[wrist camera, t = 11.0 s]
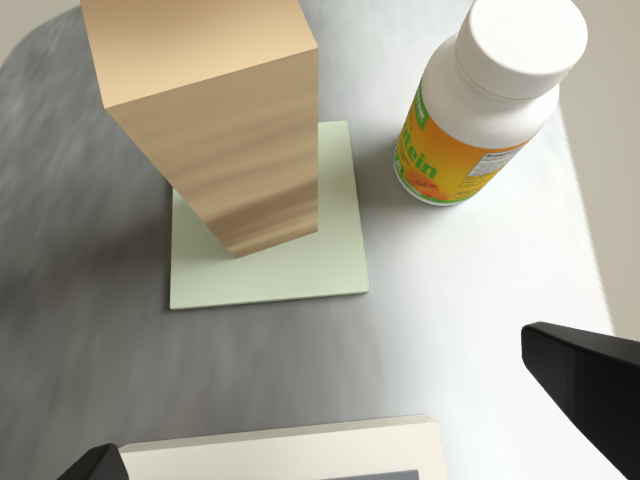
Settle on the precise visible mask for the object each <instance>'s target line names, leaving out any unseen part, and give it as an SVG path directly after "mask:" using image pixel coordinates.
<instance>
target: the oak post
mask: <svg viewBox="0 0 640 480" xmlns="http://www.w3.org/2000/svg"><path fill="white" fill-rule="evenodd" d="M80 2H81V6H82V11H83V15H84V20H85V24H86V29H87V33H88V38H89V42H90V46H91V51H92V55H93V60H94V64H95V69H96V73H97V78H98V82H99V87H100V91H101V96H102V100H103V104H104V109H105V110H106V111H107V112H108V113H109V114H110V115H111V117H112V118H113V119H114V120H115V121H116V122H117V123H118V125H119V126H120V127H121V128H122V129H123V130H124V131H125V133H126V134H127V135H128V136H129V137H130V138H131V139H132V141H133V142H134V143H135V144H136V145H137V146H138V147H139V149H140V150H141V151H142V152H143V153H144V154H145V155H146V157H147V158H148V159H149V160H150V161H151V162H152V164H153V165H154V166H155V167H156V168H157V169H158V170H159V172H160V173H161V174H162V175H163V176H164V177H165V178H166V180H167V181H168V182H169V183H170V184H171V185H172V186H173V188H174V189H175V190H176V191H177V192H178V193H179V194H180V196H181V197H182V198H183V199H184V200H185V201H186V202H187V204H188V205H189V206H190V207H191V208H192V209H193V210H194V212H195V213H196V214H197V215H198V216H199V217H200V218H201V220H202V221H203V222H204V223H205V224H206V225H207V227H208V228H209V229H210V230H211V231H212V232H213V233H214V235H215V236H216V237H217V238H218V239H219V240H220V241H221V243H222V244H223V245H224V246H225V247H226V248H227V249H228V251H229V252H230V253H231V254H232V255H233V256H234V257H235V259H238V258H241V257H244V256H247V255H250V254H253V253H256V252H259V251H262V250H265V249H268V248H271V247H274V246H277V245H280V244H283V243H286V242H289V241H291V240H294V239H297V238H300V237H303V236H306V235H309V234H312V233H315V232H318V46H317V44H316V42H315V39H314V37H313V35H312V32H311V30H310V28H309V26H308V23H307V21H306V19H305V16H304V14H303V12H302V10H301V7H300V5H299V3H298V0H80Z"/></svg>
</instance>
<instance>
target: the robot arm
mask: <svg viewBox="0 0 640 480" xmlns="http://www.w3.org/2000/svg"><path fill="white" fill-rule="evenodd" d="M521 346H522V359H523V362H524V364H525V366H526V368H527V369H528V370H529V372H530V373H531V374H532V375H533V376H534V378H535V379H536V380H537V381H538V382H539V384H540V385H541V386H542V387H543V388H544V390H545V391H546V392H547V393H548V394H549V396H550V397H551V398H552V399H553V401H554V402H555V403H556V404H557V405H558V407H559V408H560V409H561V410H562V411H563V413H564V414H565V415H566V416H567V417H568V418H569V420H570V421H571V422H572V423H573V424H574V425H575V426H576V427H577V428H578V430H579V431H580V432H581V433H582V434H583V435H584V436H585V437H586V438H587V439H588V440H589V441H590V442H591V443H592V444H593V445H594V446H595V447H596V448H597V449H598V450H599V451H600V452H601V453H602V454H603V455H604V456H605V457H606V458H607V459H608V460H609V461H610V462H611V463H612V464H613V465H614V466H615V467H616V468H617V469H618V470H619V471H620V472H621V473H622V474H623V475H624V476H625V478H626V479H627V480H640V342H638V341H633V340H628V339H623V338H619V337H614V336H609V335H604V334H599V333H594V332H589V331H585V330H580V329H575V328H570V327H565V326H560V325H555V324H551V323H546V322H535V323H531V324H528V325H525V326H524V327H522V330H521ZM57 480H129V475H128V472H127V469H126V467H125V465H124V462H123V460H122V457H121V455H120V453H119V450H118V448H117V446H116V445H115V444H113V443H108V444H105V445H101V446H98V447H94V448H92V449H90V450H89V451H87V452H86V453H85V454H84V455H83V456H82V457H81V458H80V459H79V460H78V461H77V462H75V463H74V464H73V465H72V466H71V467H70V468H69V469H68V470H67V471H66V472H65V473H63V474H62V475H61V476H60V477H59V478H58V479H57Z"/></svg>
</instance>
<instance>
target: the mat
mask: <svg viewBox="0 0 640 480" xmlns="http://www.w3.org/2000/svg"><path fill="white" fill-rule="evenodd" d="M368 292H369V284H368V276H367V269H366V261H365V253H364V245H363V237H362V230H361V222H360V214H359V206H358V198H357V191H356V183H355V175H354V167H353V159H352V152H351V144H350V136H349V128H348V120H347V121H334V122H321V123H318V232H315V233H312V234H309V235H306V236H303V237H300V238H297V239H294V240H291V241H289V242H286V243H283V244H280V245H277V246H274V247H271V248H268V249H265V250H262V251H259V252H256V253H253V254H250V255H247V256H244V257H241V258H238V259H235V257H234V256H233V255H232V254H231V253H230V252H229V251H228V249H227V248H226V247H225V246H224V245H223V244H222V243H221V241H220V240H219V239H218V238H217V237H216V236H215V235H214V233H213V232H212V231H211V230H210V229H209V228H208V227H207V225H206V224H205V223H204V222H203V221H202V220H201V218H200V217H199V216H198V215H197V214H196V213H195V212H194V210H193V209H192V208H191V207H190V206H189V205H188V204H187V202H186V201H185V200H184V199H183V198H182V197H181V196H180V194H179V193H178V192H177V191H176V190H175V189H174V188H173V210H172V250H171V290H170V309H173V310H180V309H192V308H203V307H214V306H225V305H237V304H248V303H259V302H270V301H281V300H293V299H304V298H315V297H326V296H337V295H349V294H360V293H368Z"/></svg>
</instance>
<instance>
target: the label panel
mask: <svg viewBox="0 0 640 480" xmlns="http://www.w3.org/2000/svg"><path fill="white" fill-rule="evenodd" d="M118 450H119V453H120V455H121V457H122V460H123V462H124V465H125V467H126V469H127V472H128V475H129V480H448V478H447V472H446V466H445V460H444V454H443V448H442V442H441V435H440V429H439V423H438V421H436V420H435V419H433V418H431V417H429V416H428V415H426V414H422V415H412V416H402V417H392V418H382V419H372V420H362V421H352V422H341V423H331V424H321V425H311V426H301V427H291V428H281V429H271V430H261V431H251V432H241V433H231V434H221V435H211V436H201V437H191V438H181V439H171V440H161V441H151V442H141V443H131V444H127V445H125V446H123V447H121V448H118Z"/></svg>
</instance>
